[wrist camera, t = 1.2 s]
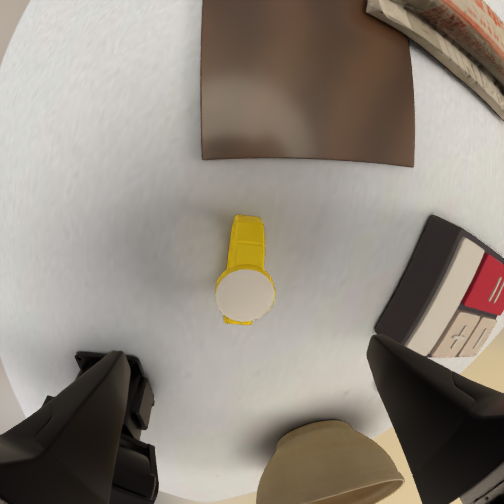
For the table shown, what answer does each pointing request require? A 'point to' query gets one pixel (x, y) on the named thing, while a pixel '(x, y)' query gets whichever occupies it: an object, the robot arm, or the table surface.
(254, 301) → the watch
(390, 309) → the calculator
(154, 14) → the table surface
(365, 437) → the planter bowl
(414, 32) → the packaged product
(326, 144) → the coaster
